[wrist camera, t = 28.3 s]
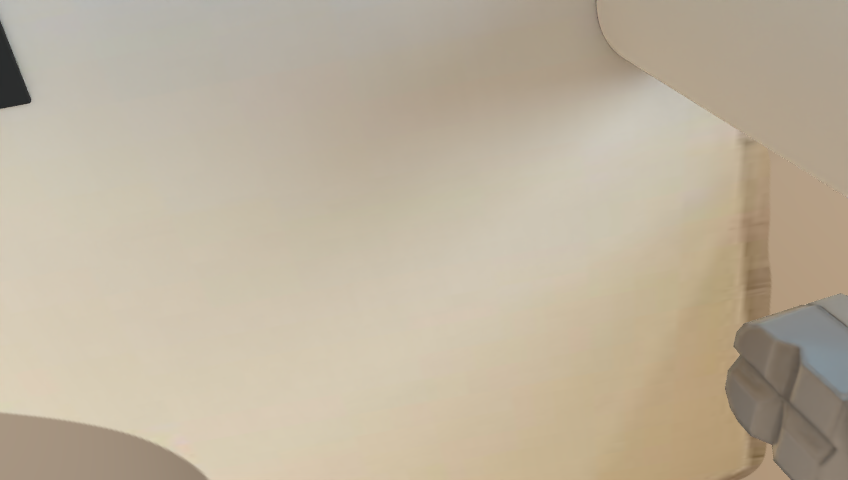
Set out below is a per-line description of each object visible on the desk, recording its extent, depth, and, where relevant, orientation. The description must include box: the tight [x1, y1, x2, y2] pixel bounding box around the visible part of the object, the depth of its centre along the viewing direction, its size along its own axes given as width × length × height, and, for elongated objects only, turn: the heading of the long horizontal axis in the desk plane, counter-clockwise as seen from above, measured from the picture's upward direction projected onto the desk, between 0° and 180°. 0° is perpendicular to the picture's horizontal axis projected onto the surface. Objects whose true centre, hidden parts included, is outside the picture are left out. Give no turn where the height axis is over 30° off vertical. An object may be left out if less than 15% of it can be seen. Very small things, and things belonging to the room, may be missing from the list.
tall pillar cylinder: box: [596, 0, 848, 198], centre depth 37 cm, size 11×11×25 cm
